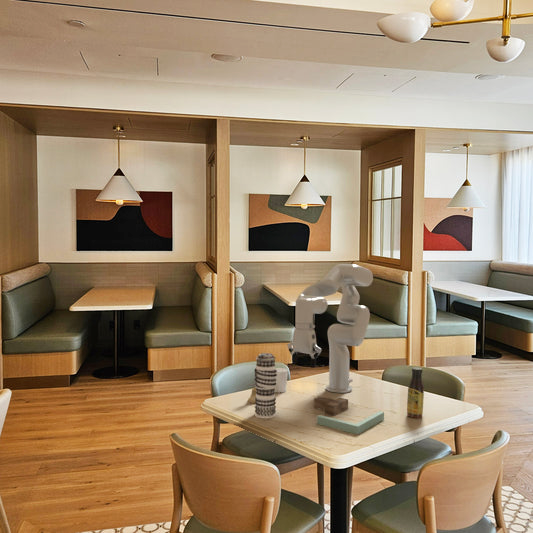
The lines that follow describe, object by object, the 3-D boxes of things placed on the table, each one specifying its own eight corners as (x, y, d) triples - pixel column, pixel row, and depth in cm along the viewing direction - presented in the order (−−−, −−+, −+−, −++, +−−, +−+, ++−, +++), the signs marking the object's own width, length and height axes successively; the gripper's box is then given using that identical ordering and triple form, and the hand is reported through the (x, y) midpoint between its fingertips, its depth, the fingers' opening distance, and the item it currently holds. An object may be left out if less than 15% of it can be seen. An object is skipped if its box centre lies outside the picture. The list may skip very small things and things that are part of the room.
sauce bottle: (403, 415, 215) (404, 367, 214) (413, 412, 219) (414, 365, 218) (417, 419, 210) (418, 370, 209) (426, 416, 214) (427, 368, 213)
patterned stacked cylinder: (253, 418, 210) (254, 356, 208) (254, 411, 219) (254, 351, 218) (276, 418, 210) (277, 356, 209) (276, 411, 219) (276, 352, 218)
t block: (324, 403, 231) (324, 394, 231) (348, 408, 223) (348, 399, 223) (308, 409, 221) (308, 400, 221) (333, 415, 214) (333, 406, 214)
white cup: (287, 393, 246) (287, 372, 245) (270, 393, 246) (270, 371, 246) (287, 388, 254) (287, 368, 253) (270, 388, 254) (271, 367, 253)
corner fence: (344, 410, 221) (344, 403, 221) (383, 419, 210) (384, 412, 210) (316, 423, 204) (316, 416, 204) (358, 434, 193) (358, 426, 193)
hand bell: (263, 397, 239) (263, 362, 238) (268, 402, 231) (268, 366, 230) (245, 398, 237) (246, 363, 236) (250, 404, 229) (250, 367, 228)
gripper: (325, 327, 225) (325, 367, 226) (292, 323, 236) (292, 361, 236) (316, 329, 219) (315, 370, 220) (282, 325, 230) (282, 364, 230)
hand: (303, 365), depth 228 cm, fingers open, 9 cm apart
